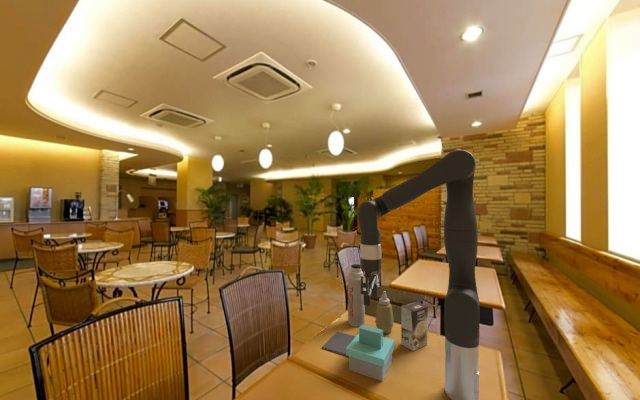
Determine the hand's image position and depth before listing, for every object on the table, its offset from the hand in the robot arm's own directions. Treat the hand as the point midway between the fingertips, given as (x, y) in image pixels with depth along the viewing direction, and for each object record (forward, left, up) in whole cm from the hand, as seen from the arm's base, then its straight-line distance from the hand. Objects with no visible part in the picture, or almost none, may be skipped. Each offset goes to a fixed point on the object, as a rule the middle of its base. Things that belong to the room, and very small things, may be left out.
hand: (371, 301), depth 97 cm
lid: (0, 0, -18) cm, 18 cm away
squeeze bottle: (+3, -27, -24) cm, 36 cm away
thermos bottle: (+17, -28, -24) cm, 41 cm away
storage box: (0, 0, -24) cm, 24 cm away
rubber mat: (+14, -8, -24) cm, 29 cm away
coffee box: (-11, -22, -24) cm, 34 cm away
